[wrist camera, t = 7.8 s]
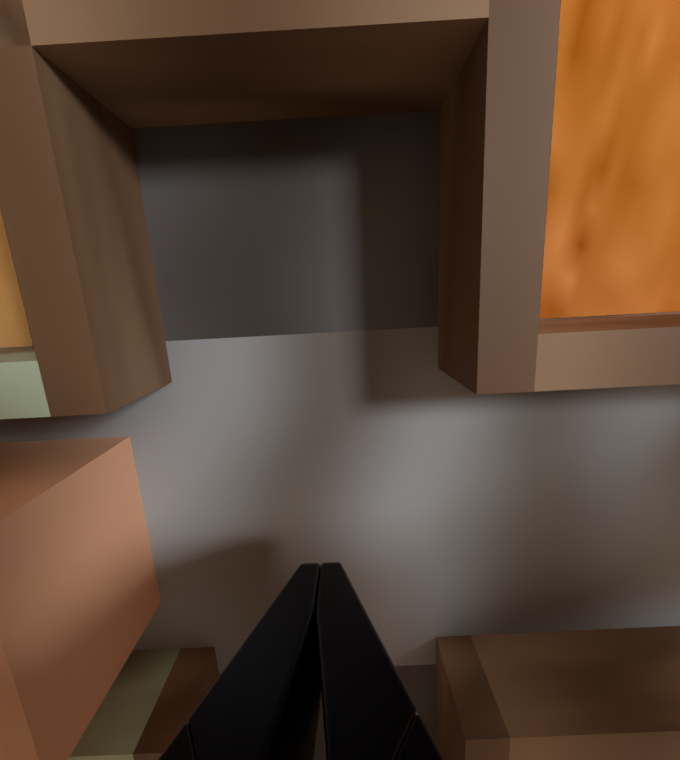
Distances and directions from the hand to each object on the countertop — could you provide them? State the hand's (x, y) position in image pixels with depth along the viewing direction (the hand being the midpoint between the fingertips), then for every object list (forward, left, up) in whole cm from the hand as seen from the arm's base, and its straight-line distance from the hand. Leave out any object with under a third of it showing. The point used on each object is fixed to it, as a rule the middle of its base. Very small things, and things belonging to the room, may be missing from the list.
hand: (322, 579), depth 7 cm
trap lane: (0, 0, -3) cm, 3 cm away
